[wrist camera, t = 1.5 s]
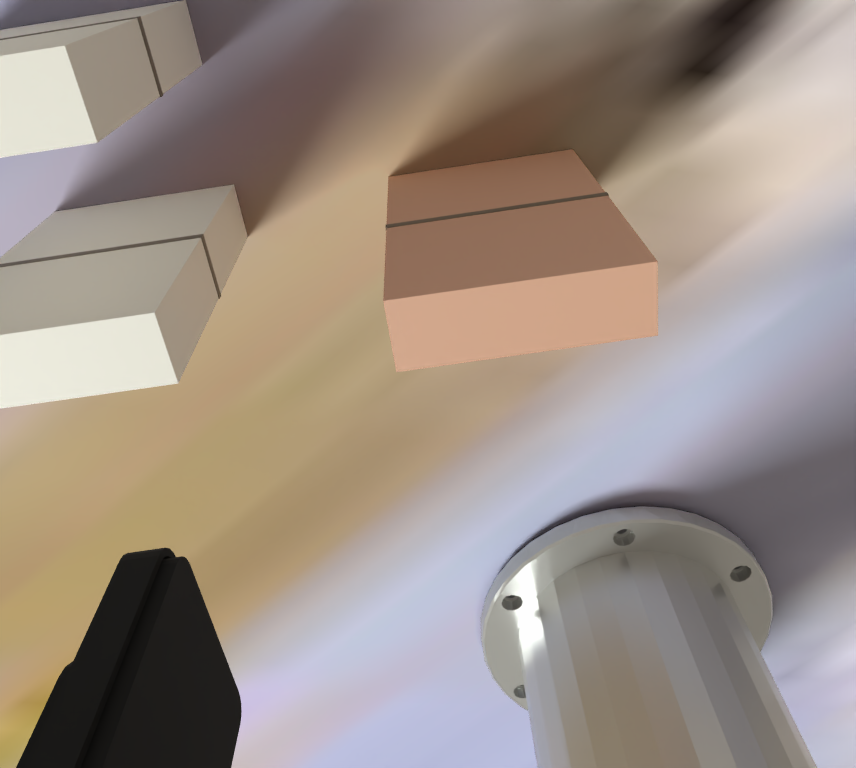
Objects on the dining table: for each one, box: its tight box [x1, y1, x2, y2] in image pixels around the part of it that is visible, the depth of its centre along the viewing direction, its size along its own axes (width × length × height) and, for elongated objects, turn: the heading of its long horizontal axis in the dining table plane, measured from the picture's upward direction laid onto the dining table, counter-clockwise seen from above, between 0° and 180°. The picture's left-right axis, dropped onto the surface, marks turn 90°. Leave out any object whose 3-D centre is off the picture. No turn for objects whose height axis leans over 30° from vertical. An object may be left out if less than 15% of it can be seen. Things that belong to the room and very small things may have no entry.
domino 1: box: [0, 0, 203, 158], centre depth 20 cm, size 2×6×10 cm, turn 98°
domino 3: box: [383, 149, 658, 372], centre depth 23 cm, size 2×6×10 cm, turn 98°
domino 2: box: [0, 185, 248, 409], centre depth 23 cm, size 2×6×10 cm, turn 98°
